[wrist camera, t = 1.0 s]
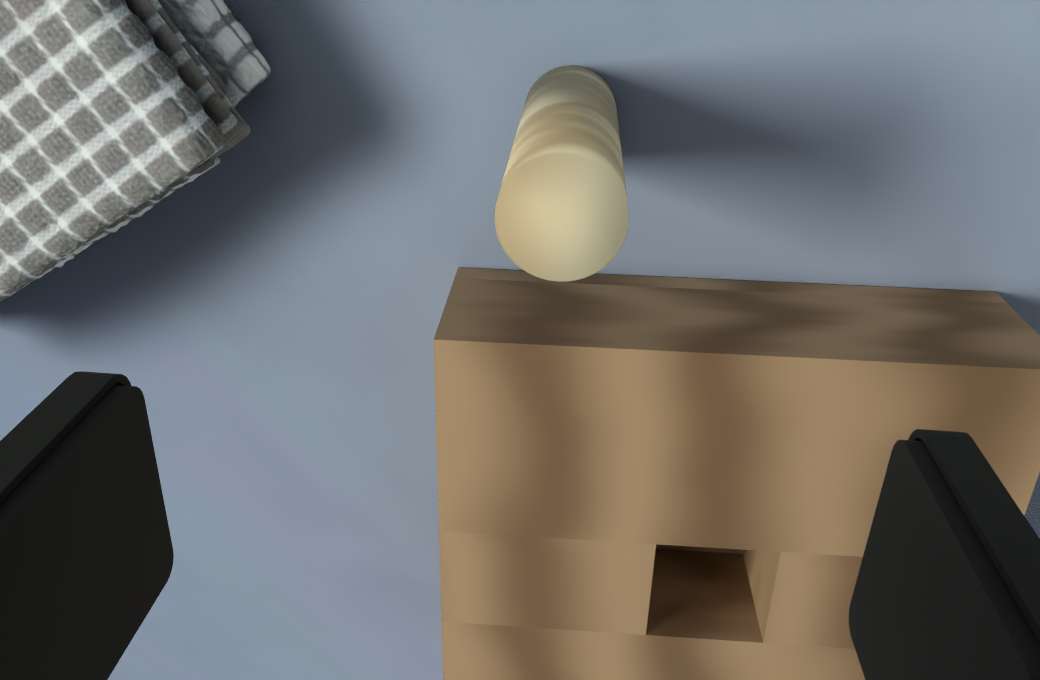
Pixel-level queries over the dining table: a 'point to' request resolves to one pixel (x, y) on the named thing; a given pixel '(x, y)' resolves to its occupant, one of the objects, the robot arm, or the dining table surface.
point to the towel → (109, 116)
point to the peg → (564, 179)
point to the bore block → (693, 463)
